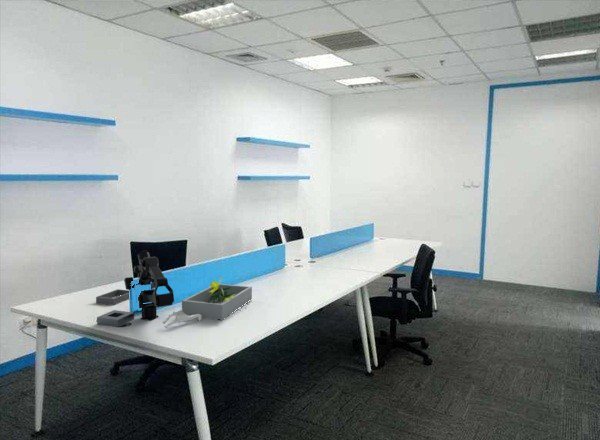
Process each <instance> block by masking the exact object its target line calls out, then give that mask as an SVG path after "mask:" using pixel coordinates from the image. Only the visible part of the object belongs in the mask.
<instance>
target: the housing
mask: <svg viewBox="0 0 600 440" xmlns="http://www.w3.org/2000/svg"><path fill="white" fill-rule="evenodd" d="M134 320H135V312H133V311H123V310H116V309H114V310H111V311H108V312H106V313H104V314H102V315H101V314H100V316H97V317H96V325H100V326H106V327H114V328H115V327H117V328H119V327H121V326H123V325H126V324H128V323H129V322H132V321H134ZM125 323H126V324H125Z"/></svg>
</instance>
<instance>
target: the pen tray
mask: <svg viewBox="0 0 600 440" xmlns="http://www.w3.org/2000/svg"><path fill="white" fill-rule="evenodd" d="M117 295H121V296H117ZM115 296H116V297H115ZM127 300H130V299H129V290H127V289H120V288H119V289H114V290H112V291H109V292H107V293H104V294H100V295H98V296H96V297H95V303H96V304H100V305H101V304H103V305H110V306H111V305H112V306H115V305H118V304H120V303H123V302H125V301H127Z"/></svg>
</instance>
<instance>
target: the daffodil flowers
mask: <svg viewBox="0 0 600 440" xmlns="http://www.w3.org/2000/svg"><path fill="white" fill-rule="evenodd" d="M222 280H223V276H221V277H220V278H219V281H216V280H213V281H211V282H210V284H209V287H213V290H211V291H209V292H212V291H213V292H212V293H210V294H215V295H213V296H212V298H213V297H215V298H214V299H213V300H212V301H211V303H215V302H216V301H217V300H218V304H222V303H223V302H225V301H227V300H228V299H230V298H232V297H234V296H233V294H234V293H232V294H228V295H225V294H226V293H227V292H225V293H224V292H223V290H227V289H230V288H232V287H225V288H220V287H219V284H221V282H222ZM209 287H208V288H209ZM214 291H215V292H214ZM216 293H217V294H216ZM220 293H222V295H220ZM231 295H232V296H231ZM234 295H235V294H234ZM229 296H231V297H229ZM227 297H229V298H227ZM221 302H222V303H221Z"/></svg>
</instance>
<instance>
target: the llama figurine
mask: <svg viewBox="0 0 600 440" xmlns="http://www.w3.org/2000/svg"><path fill="white" fill-rule="evenodd" d="M173 317H175V320H173V321H171V322H169V323H168V324H166V323H167V322H168V321H169V320H170V319H171V318H173ZM196 317H197V318H196ZM195 318H196V319H197V321H198V320H199V322H201V321H202V319H203V318H202V316H201V315H200V314H195V315H191V316H188V315H186V314H185V313H184V312H183V311H182V308H181V309H178V310H175V311H173V312H172V313H171V314H169V315H168V317H167V318H165V319H164V321H162V323H163V325H164V328H166V329H168V327H170V326H172V325H174V324H177V323H180V322H183V321H184V322H185V321H191V320H193V319H195ZM165 324H166V325H165Z"/></svg>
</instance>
